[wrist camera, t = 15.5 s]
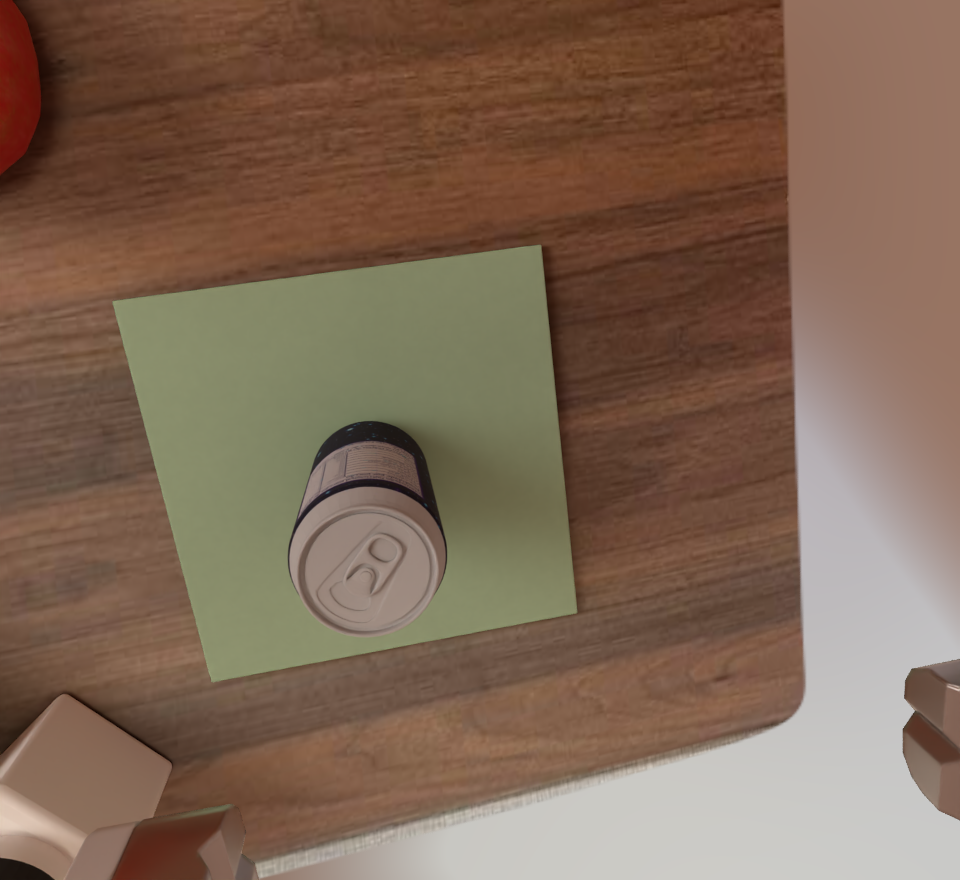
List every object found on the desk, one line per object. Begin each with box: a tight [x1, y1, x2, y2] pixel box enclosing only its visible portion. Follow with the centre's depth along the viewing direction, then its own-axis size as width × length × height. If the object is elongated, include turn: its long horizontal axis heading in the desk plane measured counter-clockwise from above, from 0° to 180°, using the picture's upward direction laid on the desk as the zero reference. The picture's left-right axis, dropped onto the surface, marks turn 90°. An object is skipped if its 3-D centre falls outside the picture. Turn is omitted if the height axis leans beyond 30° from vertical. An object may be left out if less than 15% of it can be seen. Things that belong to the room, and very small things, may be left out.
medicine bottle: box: [0, 694, 172, 880], centre depth 32 cm, size 7×7×12 cm
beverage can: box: [288, 421, 447, 637], centre depth 30 cm, size 6×6×12 cm
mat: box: [112, 245, 577, 682], centre depth 36 cm, size 20×20×1 cm
